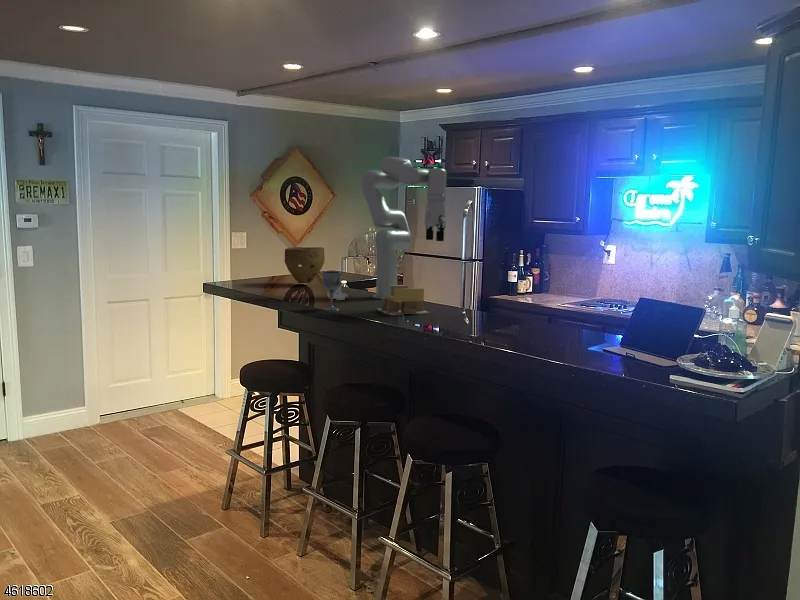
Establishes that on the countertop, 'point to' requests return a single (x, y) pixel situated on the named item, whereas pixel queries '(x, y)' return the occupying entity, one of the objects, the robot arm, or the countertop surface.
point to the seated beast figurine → (338, 295)
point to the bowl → (304, 262)
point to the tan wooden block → (407, 295)
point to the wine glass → (331, 285)
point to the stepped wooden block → (401, 305)
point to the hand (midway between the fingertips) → (434, 240)
